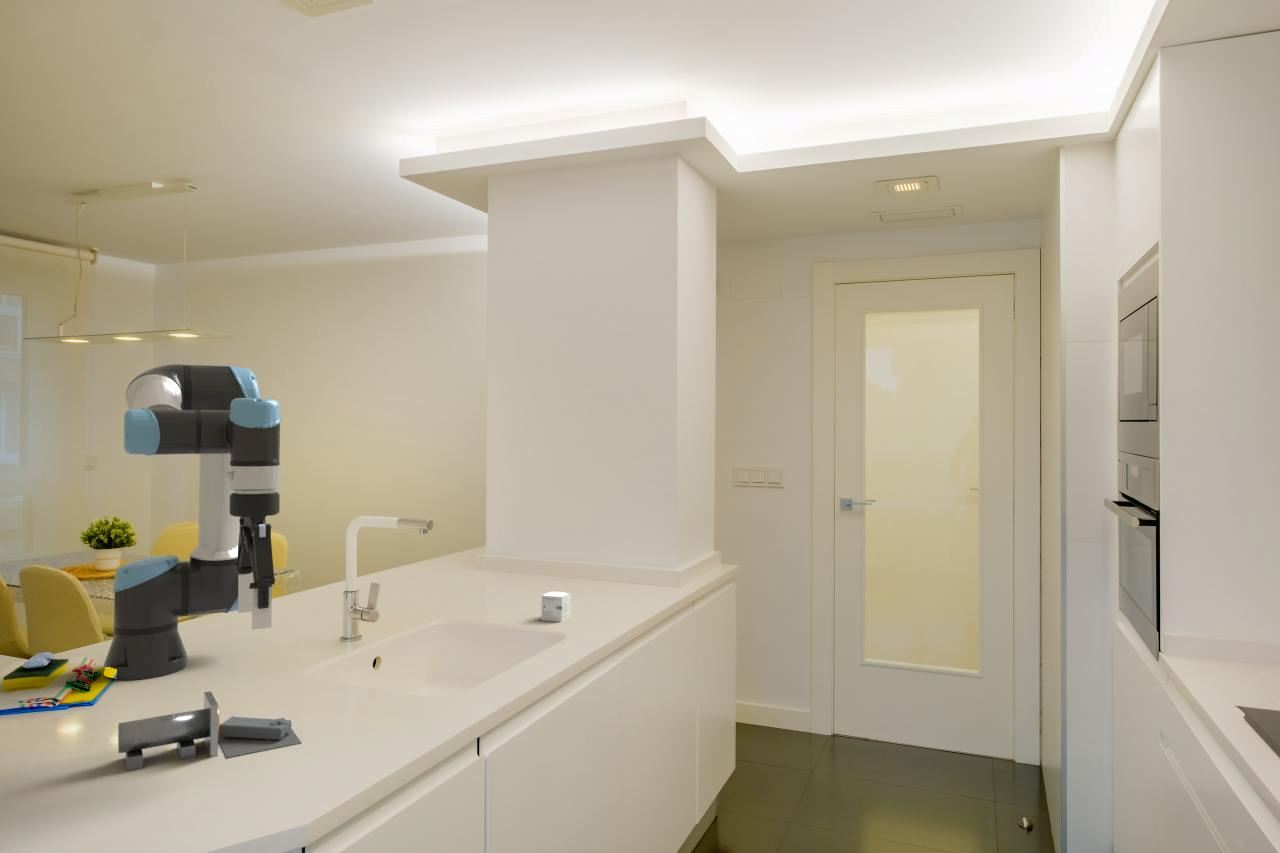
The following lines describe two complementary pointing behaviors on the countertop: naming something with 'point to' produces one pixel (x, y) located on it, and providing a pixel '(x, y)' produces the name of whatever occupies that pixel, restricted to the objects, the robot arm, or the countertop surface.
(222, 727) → the bracket
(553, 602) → the skincare box
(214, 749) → the pipe fixture
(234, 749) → the mount pad
